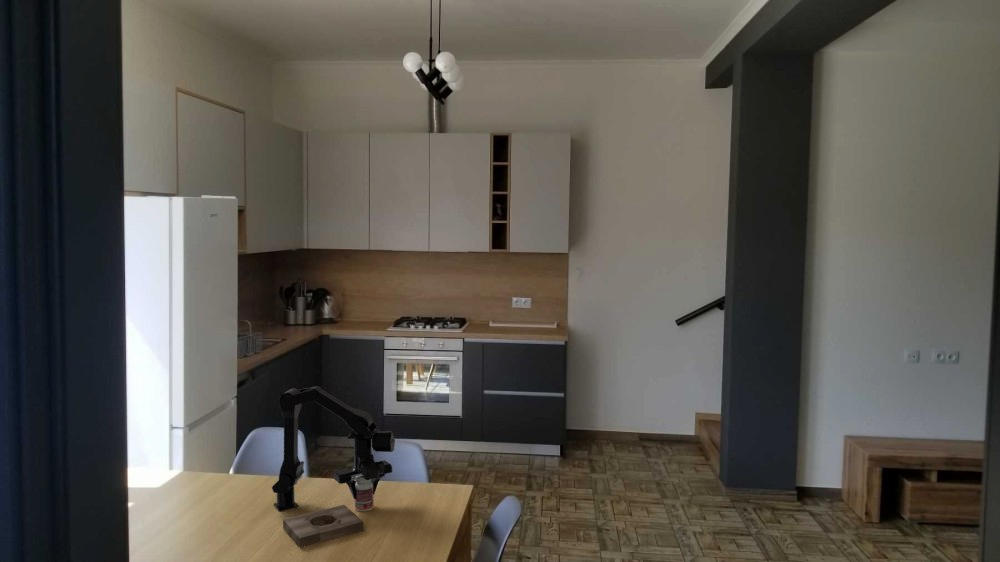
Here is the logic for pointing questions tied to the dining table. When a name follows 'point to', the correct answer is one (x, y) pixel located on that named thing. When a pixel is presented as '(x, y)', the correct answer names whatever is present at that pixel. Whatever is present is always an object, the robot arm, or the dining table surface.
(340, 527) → the socket board
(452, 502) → the dining table surface
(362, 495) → the pill bottle
